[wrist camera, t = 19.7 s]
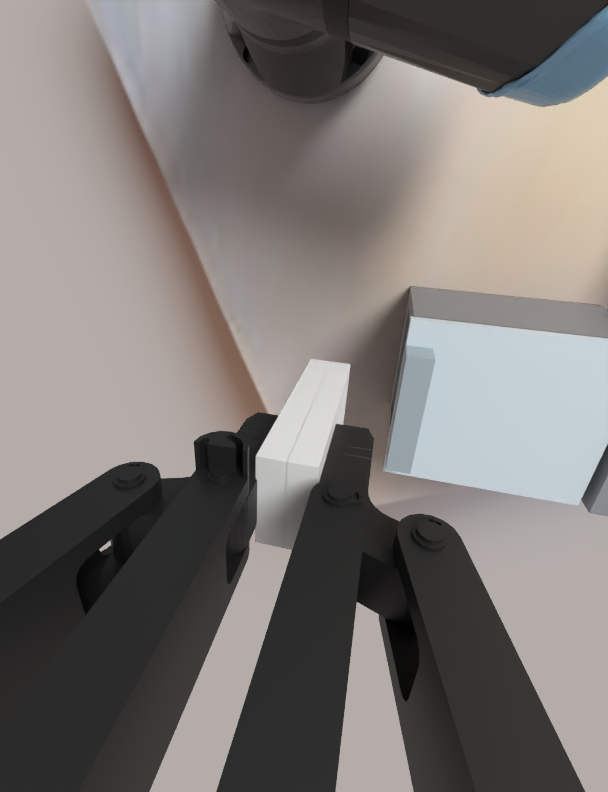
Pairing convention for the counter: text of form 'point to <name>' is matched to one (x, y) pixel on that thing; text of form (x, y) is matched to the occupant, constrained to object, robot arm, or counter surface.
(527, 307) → the housing
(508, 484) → the pale blue flat panel
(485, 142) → the counter surface
